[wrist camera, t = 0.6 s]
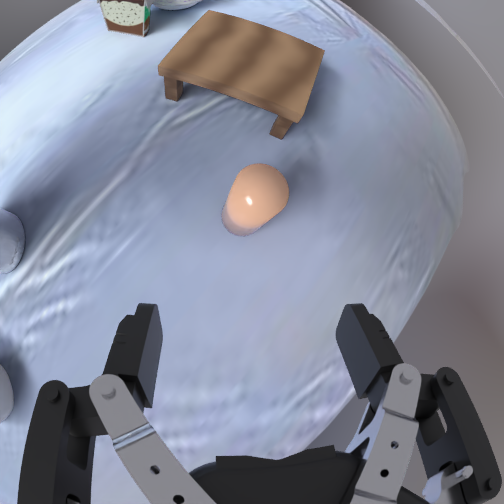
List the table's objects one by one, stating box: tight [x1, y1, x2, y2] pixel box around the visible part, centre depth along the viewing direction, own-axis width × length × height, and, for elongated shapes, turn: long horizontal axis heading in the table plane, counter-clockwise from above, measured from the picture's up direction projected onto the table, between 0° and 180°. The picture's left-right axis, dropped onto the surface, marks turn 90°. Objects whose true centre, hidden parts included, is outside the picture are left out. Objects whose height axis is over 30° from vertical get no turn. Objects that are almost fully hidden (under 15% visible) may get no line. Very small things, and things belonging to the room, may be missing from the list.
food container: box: [97, 0, 155, 37], centre depth 31 cm, size 12×6×10 cm, turn 66°
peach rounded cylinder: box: [221, 164, 289, 236], centre depth 31 cm, size 5×5×11 cm
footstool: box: [158, 10, 325, 140], centre depth 35 cm, size 20×16×8 cm
